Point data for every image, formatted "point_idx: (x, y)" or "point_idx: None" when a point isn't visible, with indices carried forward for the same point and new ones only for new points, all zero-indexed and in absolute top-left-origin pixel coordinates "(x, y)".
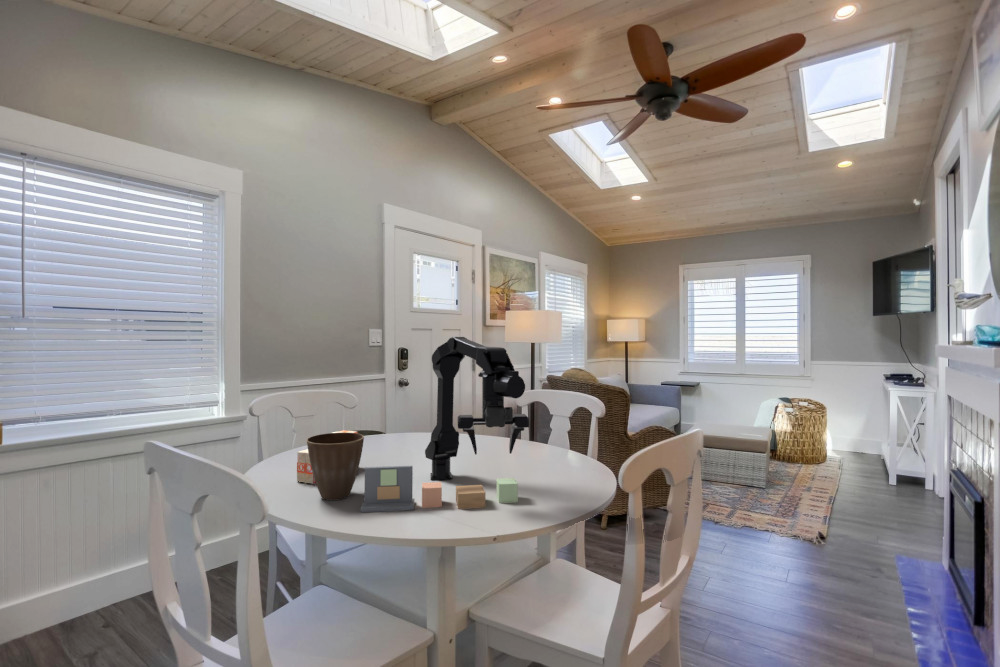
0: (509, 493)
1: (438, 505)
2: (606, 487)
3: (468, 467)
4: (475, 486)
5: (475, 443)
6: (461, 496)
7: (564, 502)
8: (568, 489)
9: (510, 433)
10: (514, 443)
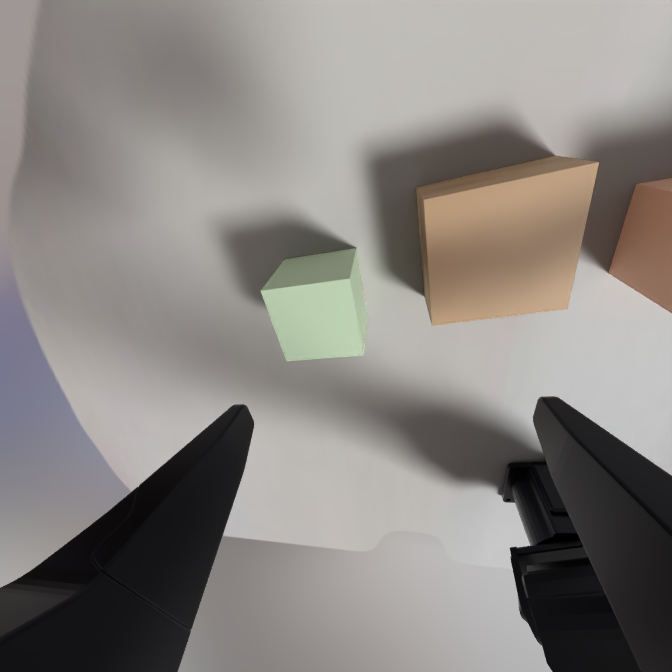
0: (308, 267)
1: (661, 180)
2: (63, 385)
3: (443, 526)
4: (466, 302)
5: (638, 492)
6: (567, 165)
7: (122, 260)
8: (153, 375)
9: (186, 619)
10: (157, 471)
